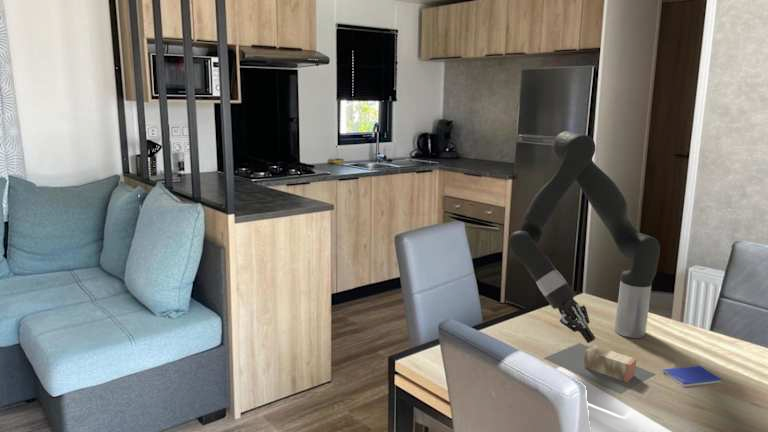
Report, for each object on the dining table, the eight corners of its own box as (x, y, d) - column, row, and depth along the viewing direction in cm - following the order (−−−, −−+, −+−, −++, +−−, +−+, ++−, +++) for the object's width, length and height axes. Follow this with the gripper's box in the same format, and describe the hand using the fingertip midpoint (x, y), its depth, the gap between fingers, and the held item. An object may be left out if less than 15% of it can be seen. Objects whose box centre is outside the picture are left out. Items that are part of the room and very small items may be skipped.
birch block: (585, 350, 158) (629, 365, 150) (592, 345, 162) (636, 359, 154) (583, 366, 159) (627, 382, 151) (590, 361, 163) (634, 375, 155)
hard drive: (683, 383, 150) (721, 378, 153) (661, 368, 158) (698, 364, 161) (682, 388, 151) (721, 384, 154) (661, 373, 159) (698, 369, 162)
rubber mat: (579, 344, 175) (579, 343, 174) (655, 376, 156) (655, 374, 156) (543, 360, 164) (543, 358, 164) (620, 395, 145) (620, 393, 145)
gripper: (554, 287, 157) (592, 342, 152) (574, 277, 167) (611, 328, 161) (535, 300, 162) (571, 354, 156) (556, 290, 171) (591, 339, 166)
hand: (591, 340), depth 159 cm, fingers closed
